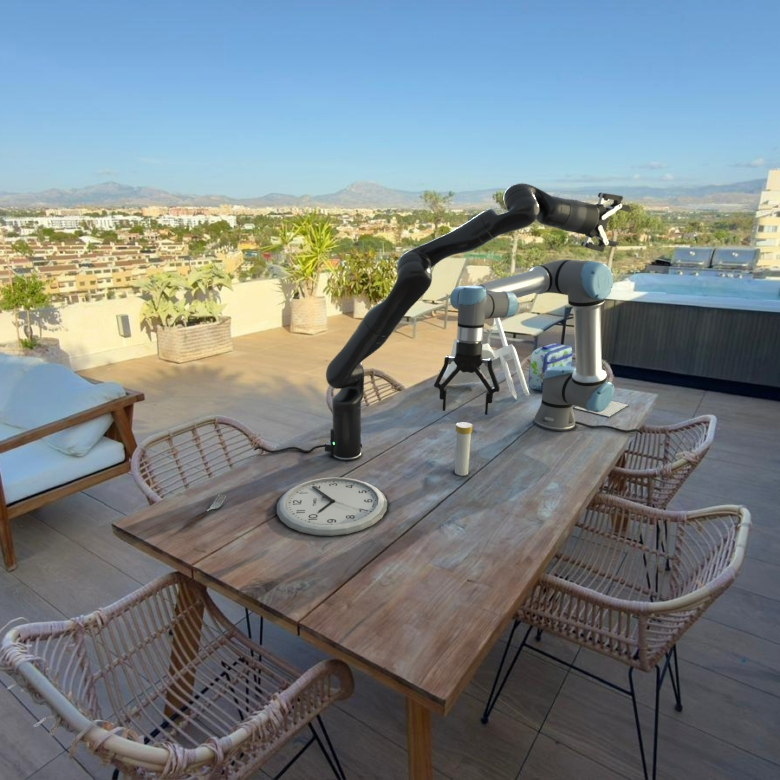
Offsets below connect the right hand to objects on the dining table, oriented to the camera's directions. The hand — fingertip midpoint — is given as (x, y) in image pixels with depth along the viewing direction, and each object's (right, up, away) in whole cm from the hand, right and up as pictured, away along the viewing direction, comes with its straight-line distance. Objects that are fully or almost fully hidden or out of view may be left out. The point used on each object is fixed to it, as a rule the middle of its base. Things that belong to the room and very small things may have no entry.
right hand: (465, 411), depth 157 cm
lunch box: (+54, +7, +95) cm, 109 cm away
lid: (0, -4, +1) cm, 5 cm away
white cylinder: (0, -19, +6) cm, 20 cm away
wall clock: (-38, -25, -15) cm, 48 cm away
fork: (-71, -26, -21) cm, 79 cm away
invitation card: (+69, -1, +69) cm, 97 cm away
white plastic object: (+19, +5, +86) cm, 88 cm away
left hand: (+39, +50, -19) cm, 66 cm away
